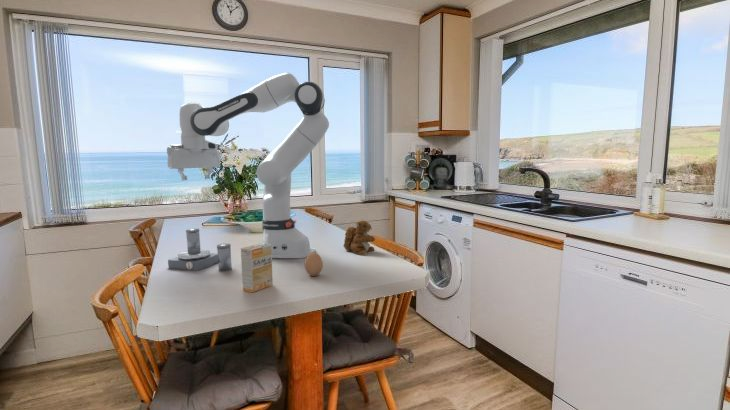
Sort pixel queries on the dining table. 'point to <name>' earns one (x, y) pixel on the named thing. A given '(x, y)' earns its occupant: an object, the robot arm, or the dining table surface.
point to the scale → (193, 262)
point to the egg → (313, 264)
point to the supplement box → (256, 267)
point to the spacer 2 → (224, 257)
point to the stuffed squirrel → (359, 238)
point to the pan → (196, 256)
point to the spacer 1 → (193, 241)
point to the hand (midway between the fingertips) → (196, 179)
